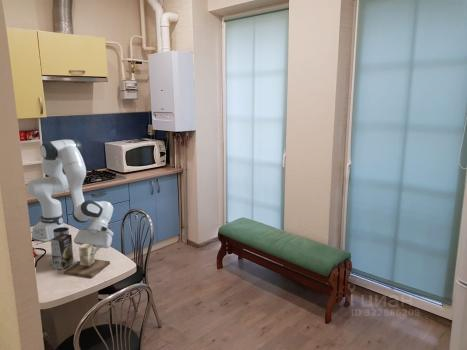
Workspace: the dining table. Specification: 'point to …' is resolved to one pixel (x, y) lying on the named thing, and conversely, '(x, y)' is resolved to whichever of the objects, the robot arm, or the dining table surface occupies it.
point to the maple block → (86, 254)
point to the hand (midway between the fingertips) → (87, 253)
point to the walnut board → (87, 268)
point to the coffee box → (62, 251)
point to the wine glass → (60, 231)
